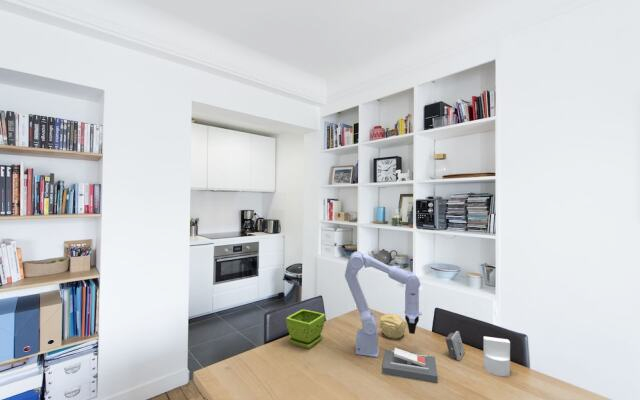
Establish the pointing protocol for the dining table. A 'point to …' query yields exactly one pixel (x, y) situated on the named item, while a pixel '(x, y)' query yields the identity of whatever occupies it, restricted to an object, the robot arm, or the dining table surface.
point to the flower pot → (305, 327)
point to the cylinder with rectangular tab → (497, 356)
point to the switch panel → (410, 367)
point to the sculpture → (392, 325)
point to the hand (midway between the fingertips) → (411, 333)
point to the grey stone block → (455, 345)
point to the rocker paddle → (409, 357)
